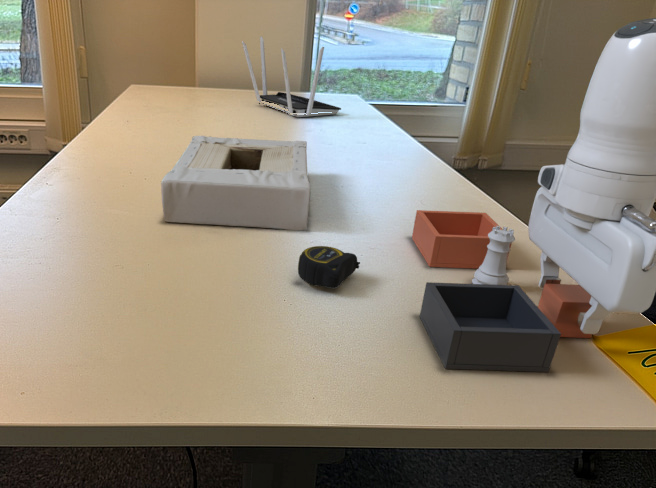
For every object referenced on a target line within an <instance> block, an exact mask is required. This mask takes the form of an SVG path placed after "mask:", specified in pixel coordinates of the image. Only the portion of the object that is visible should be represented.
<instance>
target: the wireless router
mask: <svg viewBox="0 0 656 488" xmlns="http://www.w3.org/2000/svg"><path fill="white" fill-rule="evenodd" d="M259 43H260V58H261V59H260V62H261V82H262V94H260V92H259V87H258V85H257V81H256V76H255V74H254V73H255V72H254V70H253V69H254V68H253V66H252V61H251V58H250V54H249V51H248V47H247V44H246V43H245V42H244V41H243V40H241V44H242V48H243V51H244V55H245V60H246V63H247V67H248V71H249V75H250V79H251V82H252V83H251V84H252V86H253V90H254V94H255V98H256V102H257V101H259V102H261V101H265V102H269V103H274V104H277V105H279V106H280V107H282V108H285V109H288V111H289V112H288V111H285V110H282V109H279V108H276V107H273V106H270V105H267V104H265V105H267V106H270V107H272V108H275V109H278V110H281V111H283V112H282V113H284V112H286V113H285V114H287V113H288V114H287V115H289V116H291V115H290V114H289V113H306V114H307V115H306V114H304V115H297V114H293V115H292V116H293V117H295V118H307V117H318V116H329V115H330V116H332V115H337V113H338V112H339V111H341V110H342V108H341V107H339V106H337V105H336V106H335V105H332V104H328V103H325V102H322V101H318V100H315V97H316V92H317V86H318V81H319V76H320V71H321V65H322V62H323V61H322V60H323V55H324V50H325V46H321V48H320V49H319V51H318V55H317V60H316V66H315V69H314V74H313V80H312V84H311V89H310V94H309V98H307V97H305V96H302V95H301V96H300V95H295V94H292V93H291V88H290V80H289V72H288V71H289V70H288V66H287V65H288V64H287V56H286V52H285V50H284V49H283V48H282V47H281V48H280V52H281V61H282V69H283V77H284V84H285V92H281V91H278V92H277V93H276V94H268V83H267V67H266V54H265V53H266V52H265V39H264V38H263V36H259ZM263 104H264V103H262V105H263ZM272 108H271V109H272ZM275 109H274V110H275ZM278 110H277V111H278ZM281 111H280V112H281ZM318 112H332V113H318ZM311 113H318V114H311Z"/></svg>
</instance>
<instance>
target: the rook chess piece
mask: <svg viewBox="0 0 656 488" xmlns="http://www.w3.org/2000/svg"><path fill="white" fill-rule="evenodd" d="M500 227H501V226H500V225H499V226H496V227H493V228H492V231H491V232H490V233H489V234H488V237H489V239H490V243H489V244H488V245H487V248H488V251H487V254H486V257H485V259H484V262H483V264H482V265H481V266H480V267H479V269H478V268H476V270H475V271H474V272H473V276H474V277H473V278H472V279H471V282H472V283H471V284H490V285H508V283H509V281H510V278H509V276H508V271H507V263H506V260H507V261H508V259H507V255H508V252H509V253H510V251H511V248H509V245H510V244H511V243H512V244H513V243H514V242H515V241H516V238H515V236H514V233H515V231H514V229H512V228H508V226H503V228H502V229H503V230H500ZM512 244H511V245H512ZM508 256H509V255H508Z"/></svg>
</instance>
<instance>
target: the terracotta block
mask: <svg viewBox="0 0 656 488" xmlns="http://www.w3.org/2000/svg"><path fill="white" fill-rule="evenodd" d="M590 299H591V295H590V294H589V293H588V292H587V291H585V290H584V289H583V288H582V287H581V286H580V285H579V284H571V283H570V284H569V283H567V284H565V283H560V284H545V285H544V288H543V290H541V295H540V298H539V301H538V304H537V307H538V308H539V309H540V310H541V312H542V313H543V314H544V315H545V316H546V317H547V318H548V319H549V321H550V322H551V323H552V324H553V325H554V326H555V327H556V329H557V330H558V331H559V332H560V333H561V336H560V338H573V339H574V338H575V339H576V338H577V339H591V338H592V336H593V334H584V333H583V332H582V331H581V330H580V329H579V328H578V327H577V325H576V322H577V321H578V316H579V313H580V312H583V313H586V312H587V311H588V310H589V309H590V308H591V307H592V305H590V303H589V302H590Z"/></svg>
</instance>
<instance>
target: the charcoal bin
mask: <svg viewBox="0 0 656 488" xmlns="http://www.w3.org/2000/svg"><path fill="white" fill-rule="evenodd" d="M419 319H420V321H421V322H422V325H423V327H424V330H425V331H426V333H427V335H428V337H429V339H430V341H431V343H432V345H433V347H434V349H435V351H436V353H437V355H438V357H439V359H440V361H441V363H442V365H443V367H444V369H445V370H470V371H472V370H473V371H501V372H502V371H503V372H509V371H510V372H536V373H549V372H550V369H551V365H552V362H553V360H554V357H555V354H556V350H557V347H558V345H559V341H560V339H561V337H560V336H561V333H560V332H559V331H558V330H557V329H556V327H555V326H554V325H553V324H552V323H551V322H550V321H549V319H548V318H547V317H546V316H545V315H544V314H543V313H542V312H541V310H540V309H539V308H538V305H536V304H535V302H534V301H533V300H532V299H531V298H530V297H529V295H528V294H527V293H526V292H525V291H524V290H523V289H522V287H521V286H520V285H519V284H518V285H517V284H516V285H515V284H507V285H490V284H473V283H462V282H461V283H460V282H459V283H457V282H431V281H427V282H426V283H425V288H424V292H423V298H422V303H421V307H420V313H419Z"/></svg>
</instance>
